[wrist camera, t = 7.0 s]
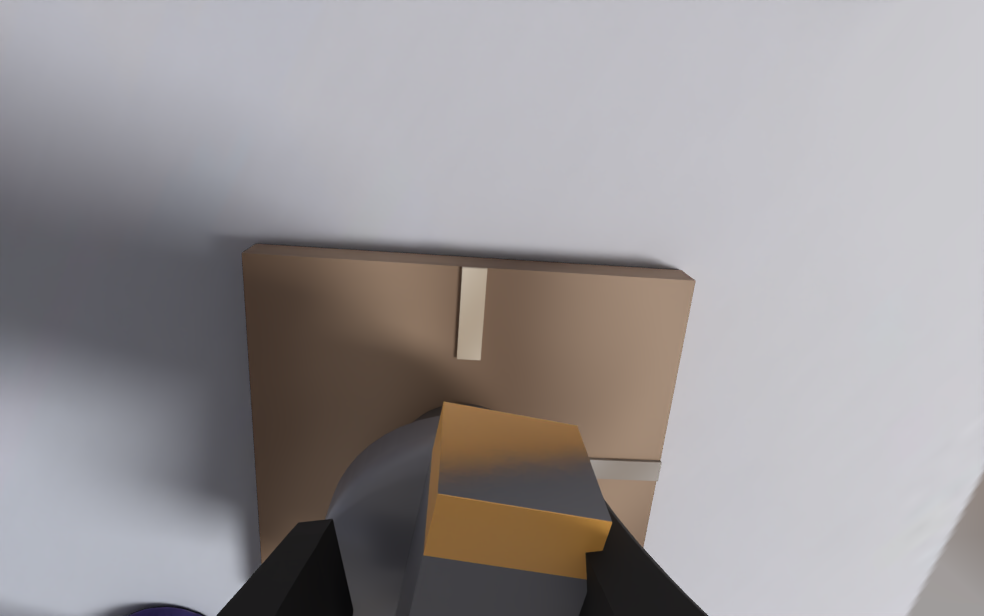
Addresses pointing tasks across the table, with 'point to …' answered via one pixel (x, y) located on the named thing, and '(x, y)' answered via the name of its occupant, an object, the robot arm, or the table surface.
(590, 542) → the twist knob
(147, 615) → the toy lamp
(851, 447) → the table surface
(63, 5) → the table surface
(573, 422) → the knob base
